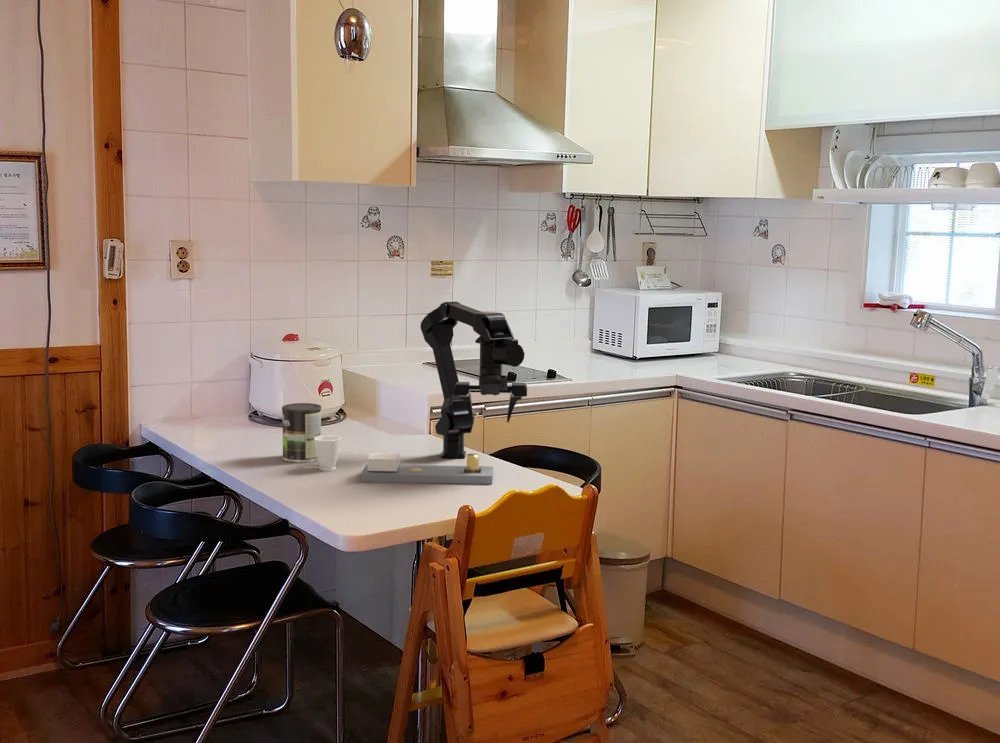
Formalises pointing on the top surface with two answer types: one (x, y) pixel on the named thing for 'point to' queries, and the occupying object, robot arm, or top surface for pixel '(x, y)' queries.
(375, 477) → the board
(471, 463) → the pin
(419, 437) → the top surface
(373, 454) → the cover
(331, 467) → the cup
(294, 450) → the coffee can
